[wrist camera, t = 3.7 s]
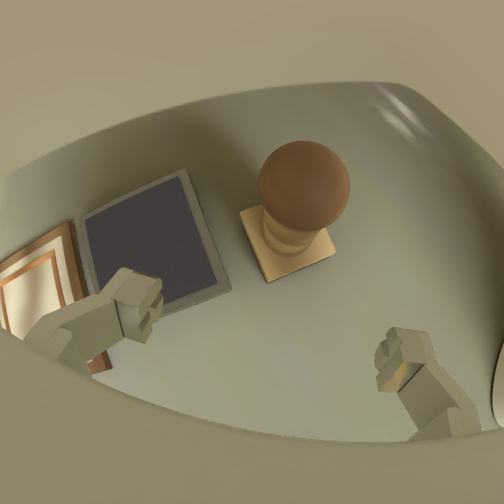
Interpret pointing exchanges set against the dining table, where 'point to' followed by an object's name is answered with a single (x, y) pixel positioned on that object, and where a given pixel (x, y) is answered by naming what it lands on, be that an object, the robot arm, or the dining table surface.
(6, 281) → the board
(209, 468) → the robot arm
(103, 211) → the ink pad
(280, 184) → the stamp
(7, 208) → the dining table surface
